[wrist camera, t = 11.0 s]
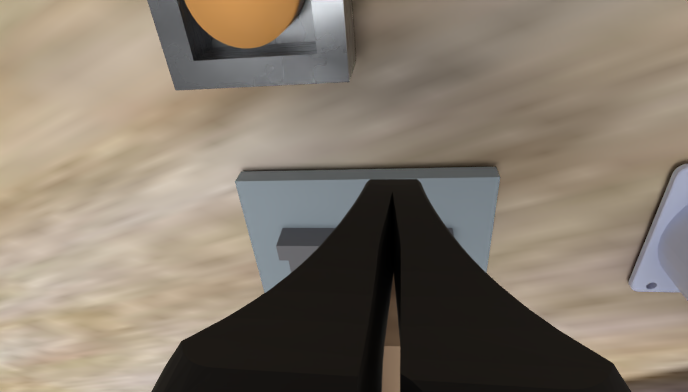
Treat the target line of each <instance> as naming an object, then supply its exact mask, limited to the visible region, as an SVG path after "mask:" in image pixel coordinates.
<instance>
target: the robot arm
mask: <svg viewBox="0 0 688 392" xmlns="http://www.w3.org/2000/svg"><path fill="white" fill-rule="evenodd" d="M393 275H394V282H395V293H396V304H397V315H398V326H399V337H400V392H631V390H630V389H629V387H628V386H627V384H626V383H625V381H624V380H623V378H622V377H621V375H620V374H619V372H618V370H617V369H616V367H615V366H614V364H613V363H612V362H610V361H608V360H607V359H605V358H603V357H602V356H600V355H599V354H597V353H595V352H594V351H592V350H590V349H589V348H587V347H585V346H584V345H582V344H580V343H579V342H577V341H576V340H574V339H572V338H571V337H569V336H567V335H566V334H564V333H562V332H561V331H559V330H558V329H556V328H555V327H553V326H552V325H551V324H549V323H548V322H546V321H545V320H544V319H542V318H541V317H539V316H538V315H536V314H535V313H534V312H532V311H531V310H529V309H528V308H527V307H526V306H524V305H523V304H522V303H520V302H519V301H518V300H517V299H516V298H514V297H513V296H512V295H511V294H510V293H508V292H507V291H506V290H505V289H503V288H502V287H501V286H500V285H499V284H498V283H496V282H495V281H494V280H493V279H492V278H491V277H490V276H489V275H488V274H487V273H486V272H485V271H484V270H483V269H482V268H481V267H480V266H479V265H478V264H477V263H476V262H475V261H474V260H473V259H472V258H471V257H470V256H469V254H468V253H467V252H466V251H465V250H464V249H463V248H462V246H461V245H460V244H459V243H458V241H457V240H456V239H455V238H454V236H453V235H452V234H451V233H450V231H449V230H448V229H447V227H446V226H445V224H444V223H443V221H442V220H441V218H440V217H439V215H438V214H437V213H436V211H435V209H434V208H433V206H432V204H431V203H430V201H429V199H428V197H427V195H426V193H425V191H424V189H423V187H422V184H421V182H420V181H419V180H418V179H370V180H369V181H368V182H367V183H366V184H365V186H364V188H363V190H362V192H361V193H360V195H359V197H358V198H357V200H356V201H355V203H354V204H353V206H352V207H351V208H350V210H349V211H348V212H347V214H346V215H345V217H344V218H343V219H342V221H341V222H340V223H339V224H338V226H337V227H336V228H335V229H334V230H333V231H332V233H331V234H330V235H329V236H328V237H327V238H326V240H325V241H324V242H323V243H322V244H321V245H320V246H319V247H318V248H317V249H316V250H315V251H314V252H313V253H312V254H311V255H310V256H309V257H308V258H307V259H306V260H305V261H304V262H303V263H302V264H301V265H300V266H299V267H297V268H296V269H295V270H294V271H293V272H291V273H290V274H289V275H288V276H287V277H285V278H284V279H283V280H282V281H280V282H279V283H278V284H276V285H275V286H274V287H273V288H271V289H270V290H268V291H267V292H266V293H264V294H263V295H261V296H260V297H258V298H257V299H255V300H254V301H252V302H251V303H249V304H247V305H246V306H244V307H243V308H241V309H240V310H238V311H236V312H235V313H233V314H231V315H230V316H228V317H226V318H224V319H222V320H221V321H219V322H217V323H215V324H213V325H211V326H209V327H208V328H206V329H204V330H202V331H200V332H198V333H196V334H195V335H193V336H191V337H189V338H187V339H185V340H183V341H181V343H180V344H179V346H178V348H177V349H176V351H175V352H174V354H173V355H172V357H171V358H170V360H169V361H168V363H167V364H166V366H165V368H164V370H163V371H162V373H161V375H160V377H159V379H158V380H157V382H156V384H155V386H154V388H153V390H152V392H382V374H383V355H384V344H385V336H386V329H387V321H388V313H389V306H390V298H391V290H392V283H393ZM649 283H650V284H649ZM629 285H630V287H631V288H632V290H634V291H639V292H681V293H682V294H683V296H684V297H685V298H686V300H687V301H688V164H683V165H681V166H679V167H677V168H676V169H675V170H674V172H673V173H672V176H671V178H670V181H669V183H668V186H667V188H666V191H665V193H664V196H663V198H662V201H661V203H660V205H659V208H658V210H657V213H656V215H655V218H654V220H653V223H652V225H651V228H650V230H649V233H648V235H647V237H646V240H645V242H644V245H643V247H642V250H641V252H640V255H639V257H638V260H637V262H636V265H635V267H634V269H633V272H632V274H631V277H630V279H629Z"/></svg>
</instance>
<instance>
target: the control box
mask: <svg viewBox="0 0 688 392" xmlns="http://www.w3.org/2000/svg"><path fill="white" fill-rule="evenodd" d="M147 1H148V4H149V7H150V10H151V14H152V17H153V20H154V23H155V26H156V30H157V33H158V36H159V39H160V42H161V45H162V49H163V52H164V55H165V58H166V61H167V65H168V68H169V71H170V74H171V77H172V81H173V84H174V87H175V90H193V89H214V88H235V87H255V86H276V85H297V84H317V83H338V82H350V78H351V75H352V71H353V68H354V65H355V61H356V53H355V38H354V23H353V8H352V0H305V1H304V4H303V7H302V9H301V11H300V13H299V15H298V16H297V18H296V19H295V20H294V21H293V23H292V24H291V25H289V26H288V27H287V28H286V29H285V30H284V31H283V32H282V33H281V34H280V35H279V36H278V37H277V38H276V39H274V40H273V41H271V42H270V43H268V44H266V45H263V46H260V47H257V48H237V47H233V46H229V45H227V44H224V43H222V42H220V41H218V40H216V39H215V38H213V37H212V36H211V35H209V34H208V33H207V32H206V31H205V30H204V29H203V28H202V27H201V26H200V25H199V24H198V23H197V22H196V20H195V19H194V17H193V16H192V14H191V13H190V11H189V9H188V7H187V5H186V3H185V1H184V0H147Z"/></svg>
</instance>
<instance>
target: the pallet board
mask: <svg viewBox="0 0 688 392" xmlns="http://www.w3.org/2000/svg"><path fill="white" fill-rule="evenodd" d="M370 179H418V180H419V181H420V182H421V184H422V187H423V189H424V191H425V193H426V195H427V197H428V199H429V201H430V203H431V204H432V206H433V208H434V209H435V211H436V213H437V214H438V215H439V217H440V218H441V220H442V221H443V223H444V224H445V226H446V227H447V229H448V230H449V231H450V233H451V234H452V235H453V236H454V238H455V239H456V240H457V241H458V243H459V244H460V245H461V246H462V248H463V249H464V250H465V251H466V252H467V253H468V254H469V256H470V257H471V258H472V259H473V260H474V261H475V262H476V263H477V264H478V265H479V266H480V267H481V268H482V269H483V270H484V271H485V272H487V265H488V258H489V251H490V244H491V237H492V230H493V223H494V216H495V209H496V202H497V195H498V188H499V181H500V176H499V173H498V171H497V168H496V167H453V168H401V169H350V170H299V171H247V172H241V173H240V174H239V176H238V178H237V179H236V181H235V183H236V187H237V191H238V194H239V198H240V202H241V206H242V209H243V213H244V217H245V221H246V225H247V228H248V232H249V236H250V240H251V243H252V247H253V251H254V255H255V258H256V262H257V266H258V270H259V273H260V277H261V281H262V285H263V288H264V292H265V293H266V292H267V291H268V290H270V289H271V288H273V287H274V286H275V285H276V284H278V283H279V282H280V281H282V280H283V279H284V278H285V277H287V276H288V275H289V274H290V273H291V272H293V271H294V270H295V269H296V268H297V267H299V266H300V265H301V264H302V263H303V262H304V261H305V260H306V259H307V258H308V257H309V256H310V255H311V254H312V253H313V252H314V251H315V250H316V249H317V248H318V247H319V246H320V245H321V244H322V243H323V242H324V241H325V240H326V238H327V237H328V236H329V235H330V234H331V233H332V231H333V230H334V229H335V228H336V227H337V226H338V224H339V223H340V222H341V221H342V219H343V218H344V217H345V215H346V214H347V212H348V211H349V210H350V208H351V207H352V206H353V204H354V203H355V201H356V200H357V198H358V197H359V195H360V193H361V192H362V190H363V188H364V186H365V184H366V183H367V182H368V181H369V180H370Z"/></svg>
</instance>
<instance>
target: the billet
mask: <svg viewBox="0 0 688 392" xmlns="http://www.w3.org/2000/svg"><path fill="white" fill-rule="evenodd" d="M382 392H400V337H399V326H398V315H397V304H396V293H395V282H394V275H393V283H392V290H391V298H390V306H389V313H388V321H387V329H386V336H385V344H384V355H383V374H382Z"/></svg>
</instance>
